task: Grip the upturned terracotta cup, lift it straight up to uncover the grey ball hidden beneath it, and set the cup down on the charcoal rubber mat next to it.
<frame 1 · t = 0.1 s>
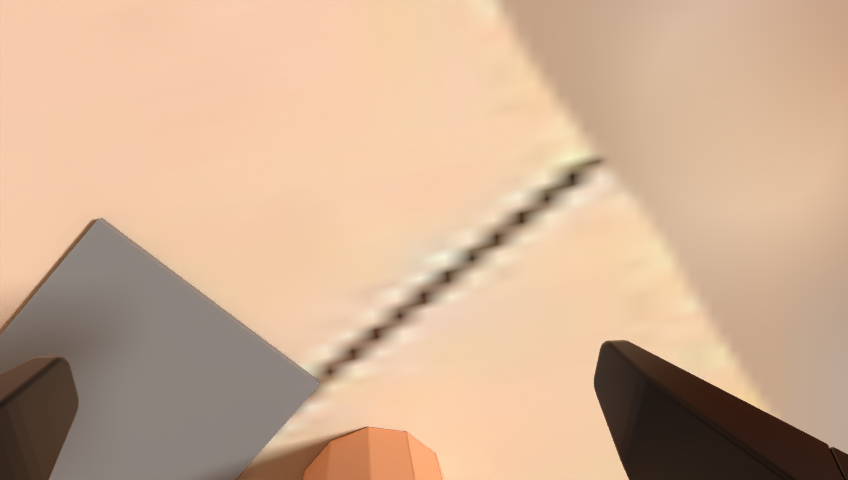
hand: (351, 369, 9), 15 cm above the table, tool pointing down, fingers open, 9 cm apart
charcoal mat: (118, 417, 24), on the table
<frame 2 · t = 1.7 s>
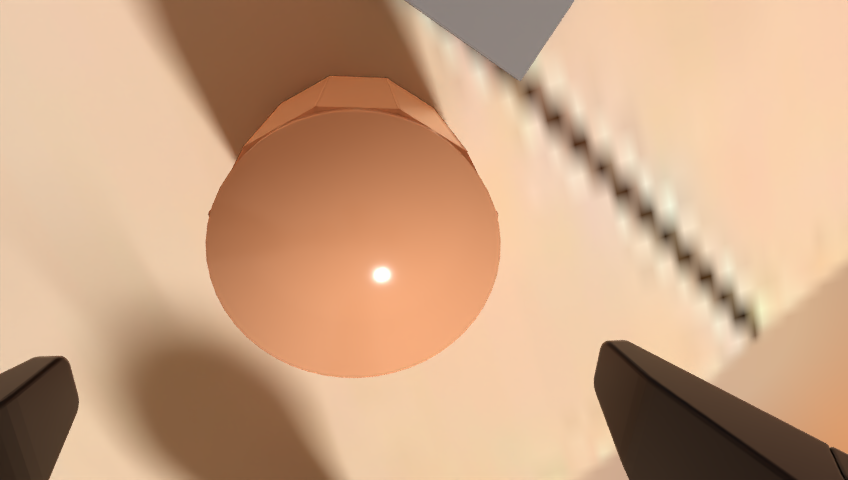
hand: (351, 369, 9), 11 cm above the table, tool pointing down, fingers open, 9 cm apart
terracotta cup: (358, 178, 19), on the table
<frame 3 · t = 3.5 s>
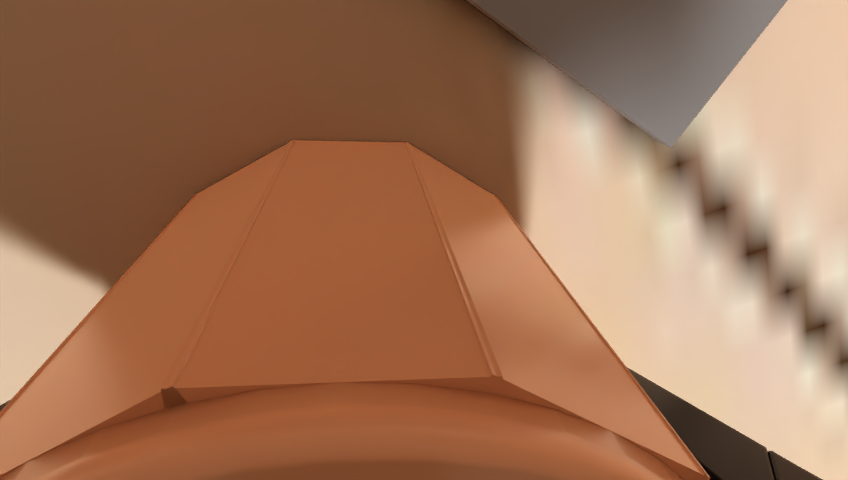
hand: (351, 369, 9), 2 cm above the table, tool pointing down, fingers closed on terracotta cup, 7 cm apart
terracotta cup: (352, 322, 10), on the table, touching gripper
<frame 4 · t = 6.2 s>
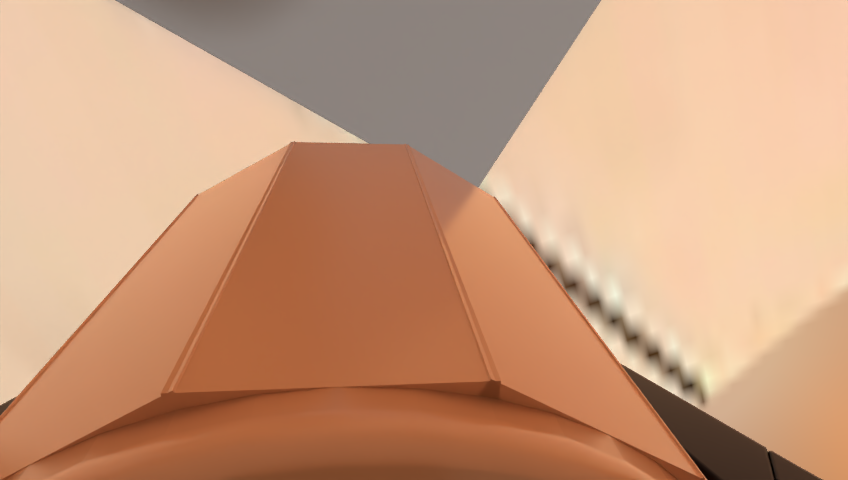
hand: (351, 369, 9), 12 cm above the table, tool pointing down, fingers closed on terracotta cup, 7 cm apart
terracotta cup: (352, 323, 10), point 10 cm above the table, touching gripper
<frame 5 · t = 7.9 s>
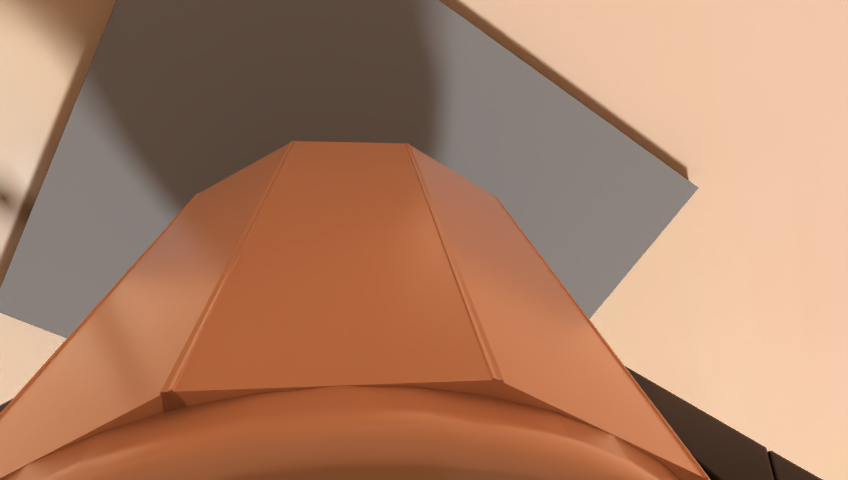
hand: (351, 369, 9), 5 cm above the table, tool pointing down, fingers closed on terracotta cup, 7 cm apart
charcoal mat: (356, 240, 14), on the table
terracotta cup: (352, 323, 10), point 4 cm above the table, touching gripper
when the fingers open (3 cm above the table, at t = 9.4 s): terracotta cup drops 1 cm, resting on charcoal mat.
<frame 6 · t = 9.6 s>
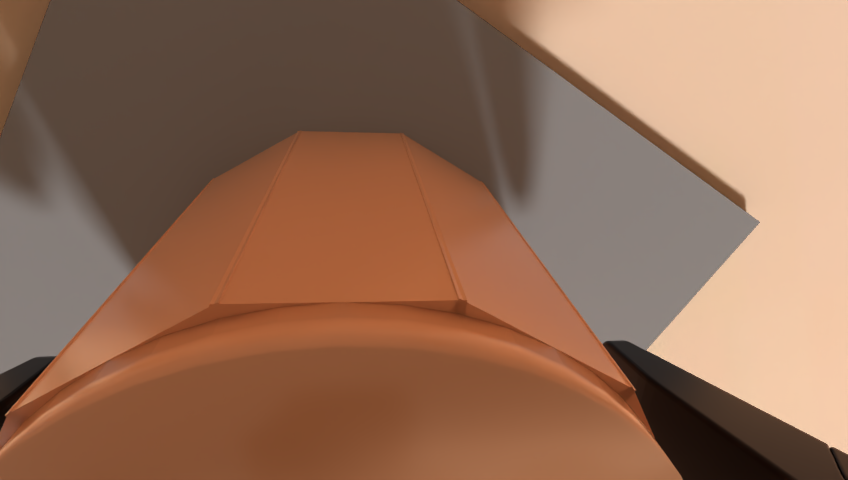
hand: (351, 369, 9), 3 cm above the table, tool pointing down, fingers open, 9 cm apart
charcoal mat: (354, 285, 12), on the table
terracotta cup: (352, 298, 11), resting on charcoal mat
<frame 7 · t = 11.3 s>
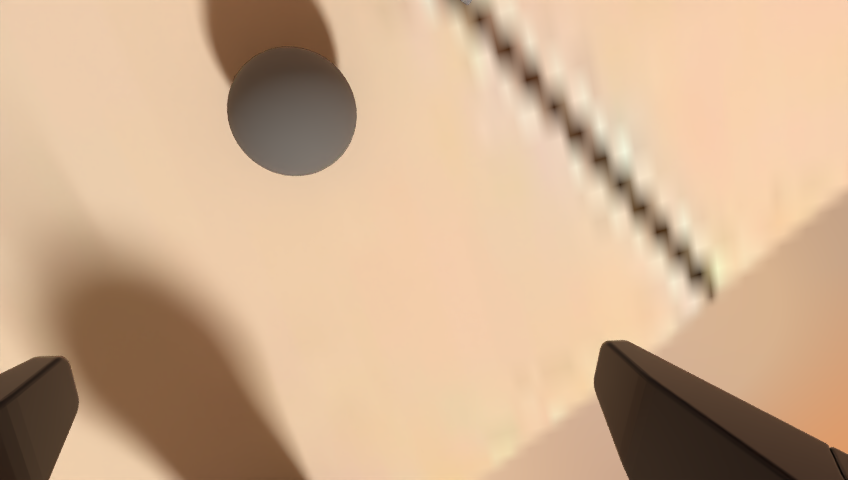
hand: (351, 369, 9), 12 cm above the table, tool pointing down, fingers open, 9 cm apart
grey ball: (293, 113, 17), on the table
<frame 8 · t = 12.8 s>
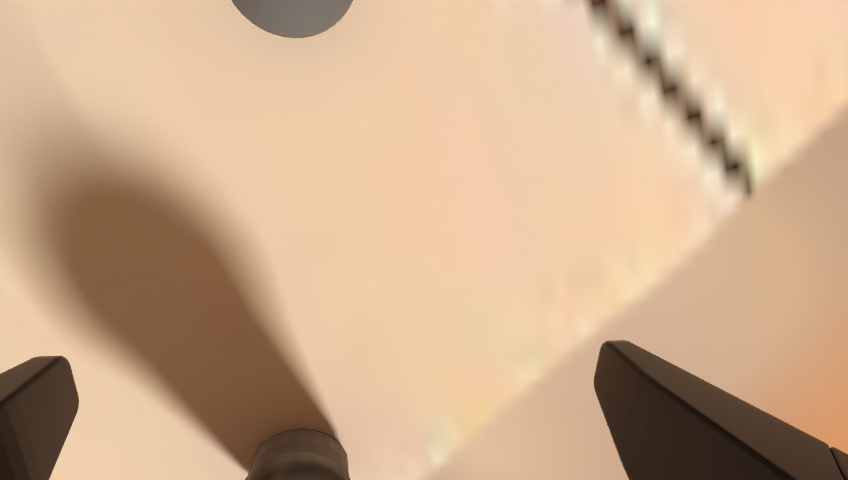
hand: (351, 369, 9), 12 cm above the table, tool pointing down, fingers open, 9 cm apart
beverage cup: (301, 462, 26), on the table
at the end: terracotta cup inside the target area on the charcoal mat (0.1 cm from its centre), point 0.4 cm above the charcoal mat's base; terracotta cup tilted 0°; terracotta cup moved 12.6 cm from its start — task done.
